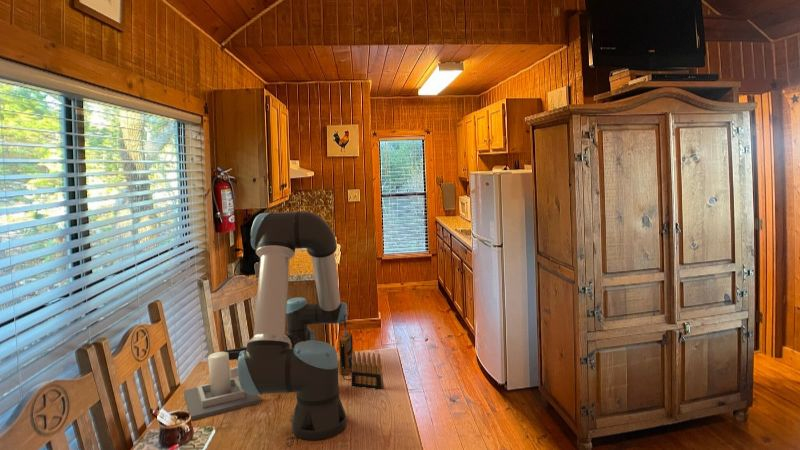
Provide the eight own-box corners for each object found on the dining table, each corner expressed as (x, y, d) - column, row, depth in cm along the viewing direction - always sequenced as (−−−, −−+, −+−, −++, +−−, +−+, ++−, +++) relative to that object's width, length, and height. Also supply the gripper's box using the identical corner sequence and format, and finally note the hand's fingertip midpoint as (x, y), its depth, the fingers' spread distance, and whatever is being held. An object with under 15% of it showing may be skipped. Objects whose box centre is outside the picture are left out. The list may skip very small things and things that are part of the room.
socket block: (260, 402, 147) (259, 392, 146) (190, 420, 137) (189, 410, 137) (246, 379, 164) (246, 370, 164) (184, 393, 154) (183, 384, 154)
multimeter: (364, 381, 160) (362, 324, 158) (336, 379, 162) (334, 323, 160) (375, 364, 174) (373, 311, 172) (349, 363, 176) (347, 310, 174)
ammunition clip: (383, 387, 155) (382, 352, 154) (381, 390, 153) (380, 354, 152) (353, 383, 158) (352, 349, 157) (351, 386, 156) (349, 351, 155)
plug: (232, 395, 149) (230, 356, 148) (212, 400, 146) (209, 360, 145) (229, 388, 154) (226, 350, 153) (209, 393, 152) (207, 354, 150)
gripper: (298, 367, 158) (241, 390, 142) (256, 351, 174) (200, 370, 158) (297, 345, 157) (239, 366, 141) (254, 331, 173) (199, 348, 157)
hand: (218, 368), depth 150 cm, fingers open, 13 cm apart
